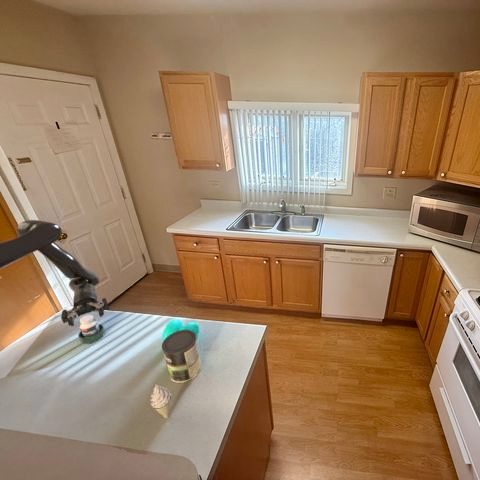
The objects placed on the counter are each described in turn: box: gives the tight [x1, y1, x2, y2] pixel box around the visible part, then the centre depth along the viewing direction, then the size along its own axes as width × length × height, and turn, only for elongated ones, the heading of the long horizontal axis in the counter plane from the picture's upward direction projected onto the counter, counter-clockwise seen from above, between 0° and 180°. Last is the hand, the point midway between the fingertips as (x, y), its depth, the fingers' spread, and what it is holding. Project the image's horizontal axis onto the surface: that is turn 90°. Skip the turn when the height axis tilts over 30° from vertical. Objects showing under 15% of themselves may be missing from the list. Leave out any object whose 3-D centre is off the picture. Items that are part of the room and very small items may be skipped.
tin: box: [77, 323, 106, 345], centre depth 102 cm, size 8×8×3 cm
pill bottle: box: [79, 314, 100, 337], centre depth 101 cm, size 5×5×9 cm
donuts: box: [161, 318, 200, 342], centre depth 100 cm, size 10×10×10 cm
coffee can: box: [161, 330, 202, 384], centre depth 88 cm, size 10×10×14 cm
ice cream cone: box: [149, 383, 173, 419], centre depth 73 cm, size 5×5×15 cm
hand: (86, 319), depth 100 cm, fingers open, 8 cm apart
